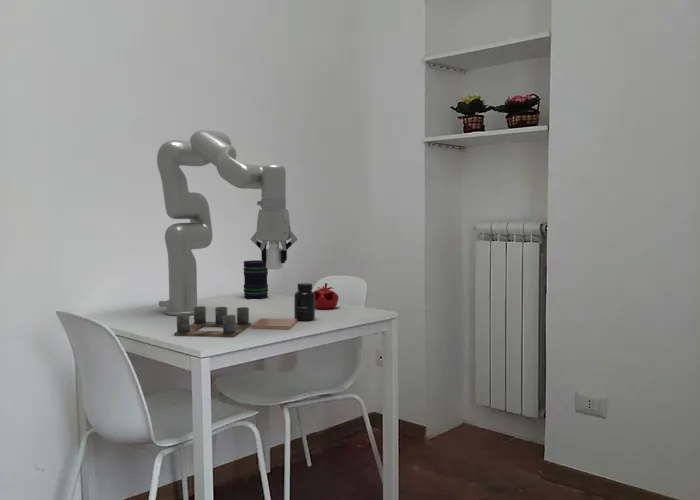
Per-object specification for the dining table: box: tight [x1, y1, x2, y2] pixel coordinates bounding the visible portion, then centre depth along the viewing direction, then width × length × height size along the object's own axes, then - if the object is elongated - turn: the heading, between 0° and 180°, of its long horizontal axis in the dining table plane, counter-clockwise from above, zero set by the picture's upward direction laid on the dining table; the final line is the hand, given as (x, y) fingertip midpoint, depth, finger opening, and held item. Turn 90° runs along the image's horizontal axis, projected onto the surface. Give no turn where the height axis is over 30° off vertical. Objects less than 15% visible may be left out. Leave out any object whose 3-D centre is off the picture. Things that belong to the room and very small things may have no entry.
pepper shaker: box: [266, 241, 283, 270], centre depth 202 cm, size 4×4×10 cm
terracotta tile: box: [250, 317, 298, 330], centre depth 204 cm, size 12×12×1 cm
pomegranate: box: [313, 282, 339, 310], centre depth 237 cm, size 10×10×9 cm
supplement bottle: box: [293, 282, 316, 322], centre depth 213 cm, size 7×7×12 cm
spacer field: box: [173, 305, 252, 338], centre depth 195 cm, size 18×18×6 cm
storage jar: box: [242, 259, 269, 300], centre depth 262 cm, size 10×10×15 cm
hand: (274, 262), depth 202 cm, fingers closed on pepper shaker, 5 cm apart
